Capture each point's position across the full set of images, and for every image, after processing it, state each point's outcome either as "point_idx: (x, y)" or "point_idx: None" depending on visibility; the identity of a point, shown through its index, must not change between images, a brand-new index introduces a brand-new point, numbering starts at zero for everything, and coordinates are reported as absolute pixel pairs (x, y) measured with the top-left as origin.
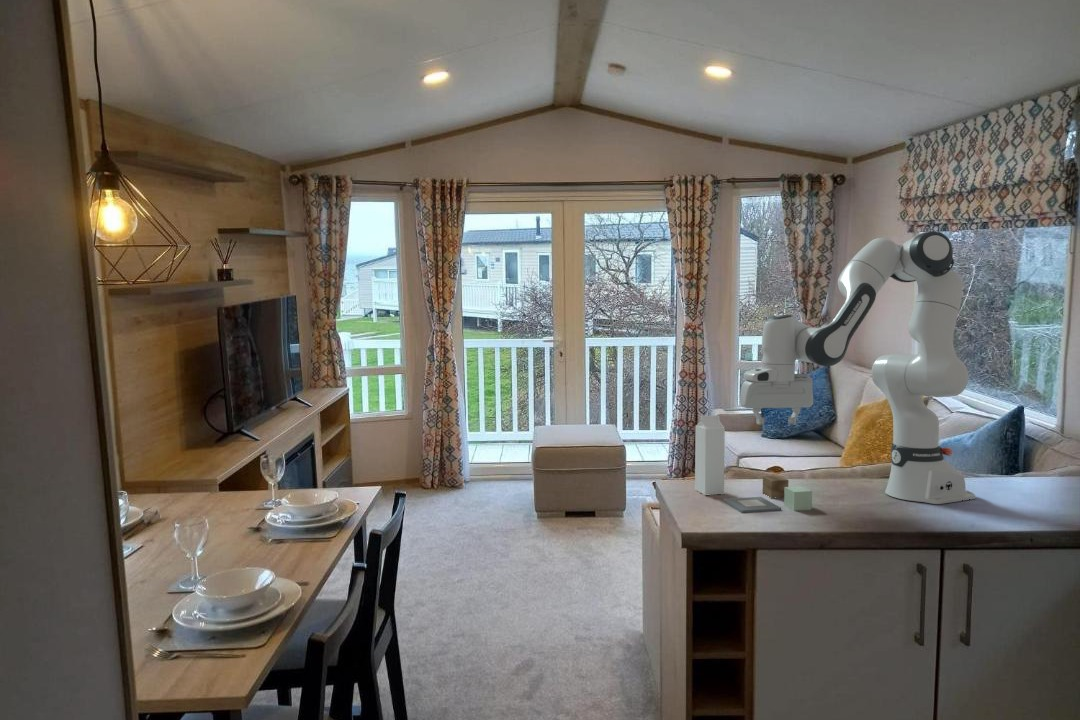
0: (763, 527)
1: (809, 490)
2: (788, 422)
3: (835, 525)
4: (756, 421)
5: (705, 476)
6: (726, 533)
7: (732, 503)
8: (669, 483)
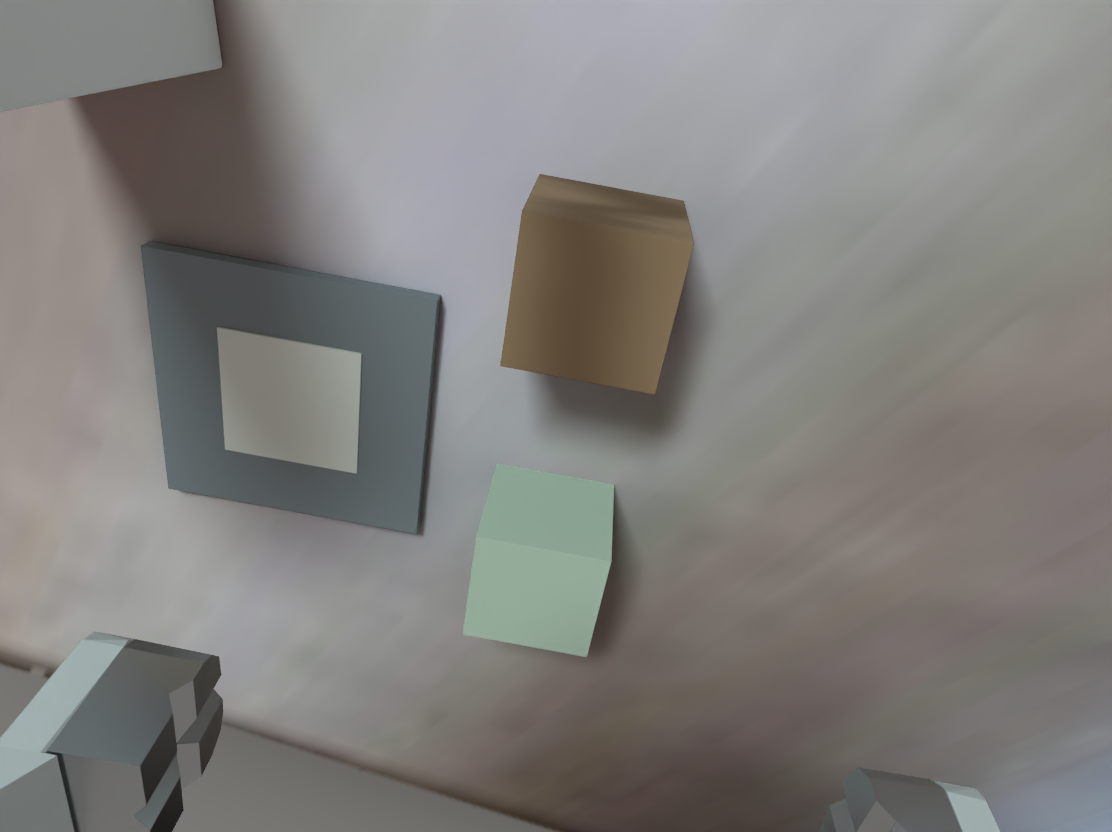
0: None
1: (580, 643)
2: (855, 780)
3: (516, 753)
4: (68, 664)
5: None
6: (2, 664)
7: (166, 360)
8: None
